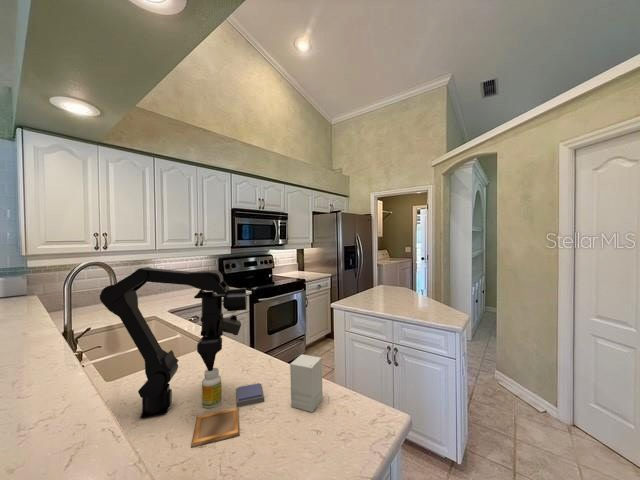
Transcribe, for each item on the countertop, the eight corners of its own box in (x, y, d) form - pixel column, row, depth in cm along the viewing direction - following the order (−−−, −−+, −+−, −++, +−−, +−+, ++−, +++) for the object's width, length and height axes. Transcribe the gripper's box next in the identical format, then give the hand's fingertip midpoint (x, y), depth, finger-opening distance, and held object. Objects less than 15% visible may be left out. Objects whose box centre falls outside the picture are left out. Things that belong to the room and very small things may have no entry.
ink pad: (236, 407, 75) (236, 400, 75) (236, 392, 83) (236, 386, 83) (264, 401, 78) (264, 395, 78) (261, 387, 85) (261, 381, 85)
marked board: (190, 447, 60) (190, 444, 60) (196, 418, 71) (196, 415, 71) (239, 435, 64) (239, 433, 64) (238, 409, 74) (238, 406, 74)
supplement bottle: (214, 409, 74) (214, 375, 75) (198, 407, 76) (197, 374, 76) (225, 398, 80) (224, 367, 80) (209, 396, 81) (209, 365, 81)
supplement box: (323, 398, 79) (322, 357, 79) (312, 413, 72) (312, 368, 72) (302, 393, 82) (301, 353, 82) (290, 406, 75) (289, 363, 75)
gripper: (240, 317, 72) (240, 373, 72) (238, 303, 90) (238, 348, 89) (197, 321, 68) (196, 380, 68) (203, 305, 86) (203, 353, 86)
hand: (211, 363), depth 78 cm, fingers open, 9 cm apart
